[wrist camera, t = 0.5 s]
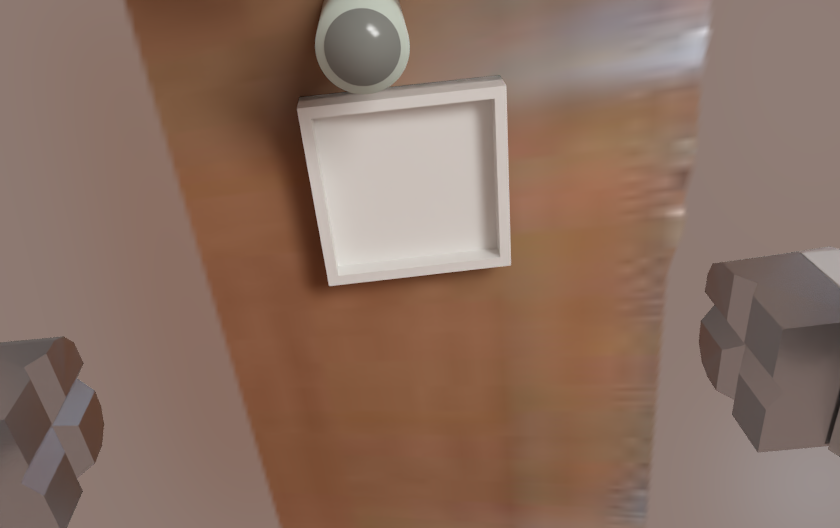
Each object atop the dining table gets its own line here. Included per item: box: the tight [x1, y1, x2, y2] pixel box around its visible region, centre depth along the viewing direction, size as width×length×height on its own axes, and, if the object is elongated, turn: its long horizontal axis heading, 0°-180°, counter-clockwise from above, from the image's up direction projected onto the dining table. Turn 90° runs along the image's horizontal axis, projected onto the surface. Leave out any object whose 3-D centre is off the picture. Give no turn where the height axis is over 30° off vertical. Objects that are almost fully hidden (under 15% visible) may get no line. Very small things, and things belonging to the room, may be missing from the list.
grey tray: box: [297, 75, 511, 286], centre depth 52 cm, size 14×14×2 cm
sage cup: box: [315, 0, 410, 94], centre depth 43 cm, size 5×5×9 cm
